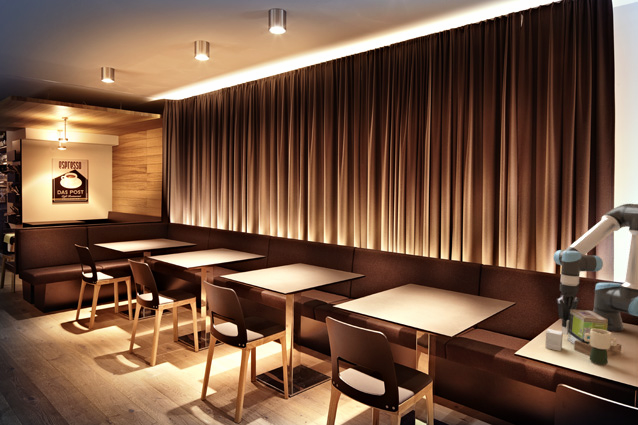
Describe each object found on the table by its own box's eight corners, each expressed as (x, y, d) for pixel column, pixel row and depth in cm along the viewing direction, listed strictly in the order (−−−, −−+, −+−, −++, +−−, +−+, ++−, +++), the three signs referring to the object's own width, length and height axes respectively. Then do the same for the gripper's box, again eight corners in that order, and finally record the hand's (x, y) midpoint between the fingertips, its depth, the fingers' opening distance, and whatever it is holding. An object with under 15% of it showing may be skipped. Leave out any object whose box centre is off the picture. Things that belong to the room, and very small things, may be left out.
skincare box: (562, 347, 194) (563, 331, 194) (560, 351, 189) (561, 334, 189) (546, 344, 198) (547, 328, 197) (544, 348, 193) (546, 331, 192)
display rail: (598, 346, 198) (598, 336, 198) (620, 354, 189) (621, 344, 189) (574, 349, 192) (574, 340, 192) (596, 358, 183) (597, 348, 183)
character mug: (613, 363, 178) (616, 331, 178) (615, 369, 172) (618, 336, 171) (582, 357, 184) (584, 326, 183) (583, 362, 177) (585, 330, 177)
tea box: (606, 353, 189) (608, 319, 188) (580, 351, 191) (583, 317, 190) (589, 341, 204) (592, 310, 203) (566, 339, 206) (569, 308, 205)
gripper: (571, 281, 211) (567, 329, 213) (552, 282, 206) (548, 332, 208) (586, 285, 204) (582, 334, 206) (566, 286, 199) (562, 337, 201)
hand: (565, 333), depth 207 cm, fingers closed
